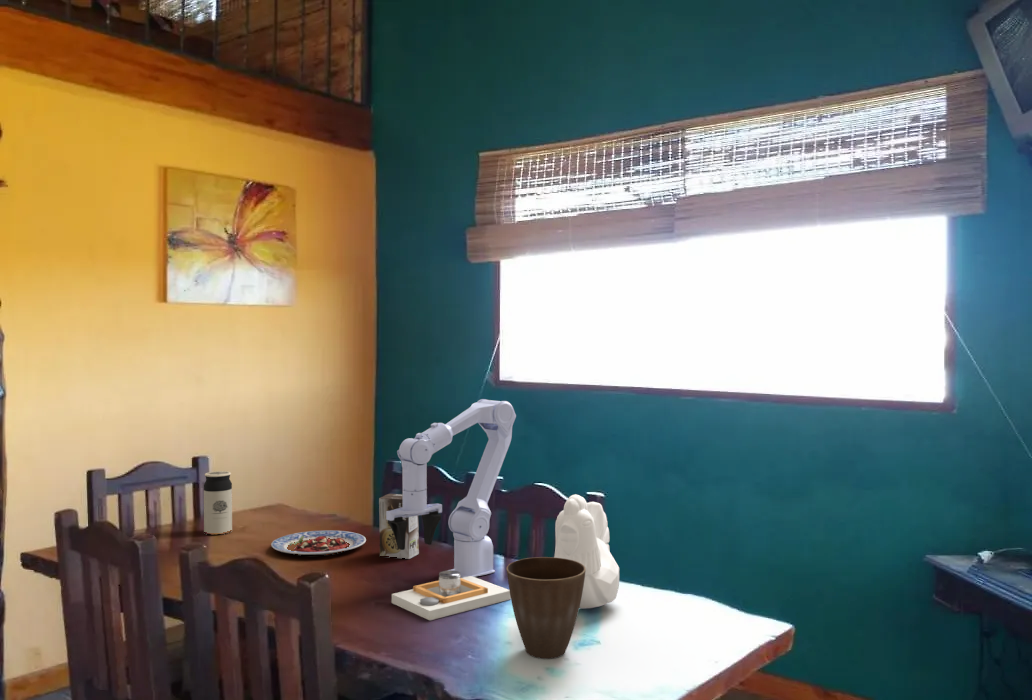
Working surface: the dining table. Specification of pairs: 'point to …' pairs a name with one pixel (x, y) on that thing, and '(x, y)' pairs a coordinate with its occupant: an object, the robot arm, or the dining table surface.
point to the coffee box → (386, 534)
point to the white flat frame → (450, 598)
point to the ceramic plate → (319, 542)
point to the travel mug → (217, 502)
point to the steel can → (449, 583)
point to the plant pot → (546, 602)
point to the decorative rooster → (588, 549)
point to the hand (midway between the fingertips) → (414, 546)
